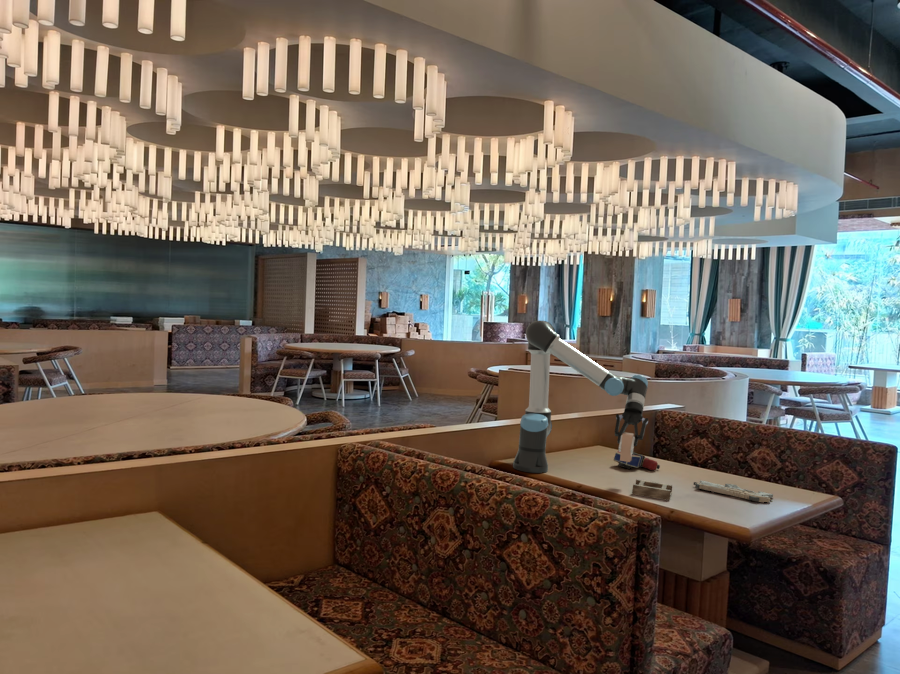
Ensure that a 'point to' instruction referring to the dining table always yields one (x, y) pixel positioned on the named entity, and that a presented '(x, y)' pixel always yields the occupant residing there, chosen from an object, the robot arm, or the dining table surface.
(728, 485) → the grey flat slab
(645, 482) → the rack
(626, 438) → the strip
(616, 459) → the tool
